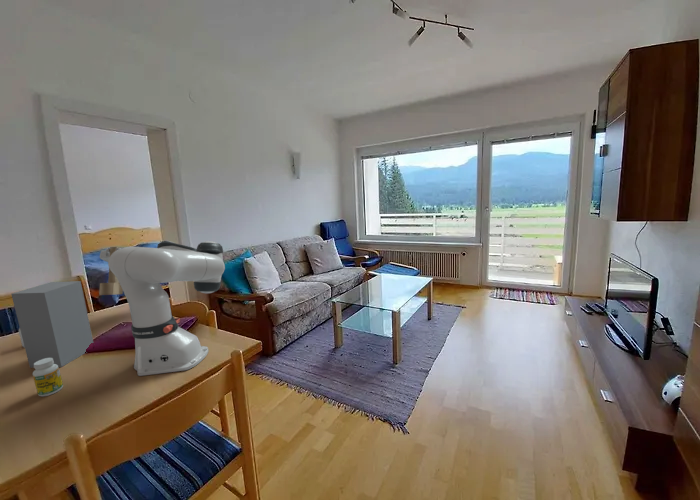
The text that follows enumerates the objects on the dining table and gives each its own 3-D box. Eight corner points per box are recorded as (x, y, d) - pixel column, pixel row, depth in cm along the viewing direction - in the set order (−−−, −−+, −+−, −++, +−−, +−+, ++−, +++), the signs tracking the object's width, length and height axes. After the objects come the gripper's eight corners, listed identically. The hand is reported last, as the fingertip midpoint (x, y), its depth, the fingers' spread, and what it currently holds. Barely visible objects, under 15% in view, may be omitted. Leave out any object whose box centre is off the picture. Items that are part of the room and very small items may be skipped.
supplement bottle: (65, 383, 93) (58, 354, 91) (61, 392, 89) (54, 362, 87) (40, 390, 90) (33, 360, 89) (35, 399, 86) (27, 368, 84)
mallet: (124, 247, 135) (115, 245, 130) (122, 294, 133) (113, 294, 128) (111, 247, 135) (101, 246, 131) (109, 294, 133) (99, 295, 128)
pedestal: (94, 347, 115) (80, 281, 111) (61, 366, 103) (44, 292, 98) (66, 348, 116) (51, 282, 111) (29, 367, 103) (11, 293, 98)
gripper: (155, 265, 144) (134, 255, 131) (112, 266, 145) (88, 257, 132) (157, 252, 146) (137, 242, 133) (116, 253, 147) (91, 243, 134)
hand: (112, 249), depth 132 cm, fingers closed on mallet, 3 cm apart
